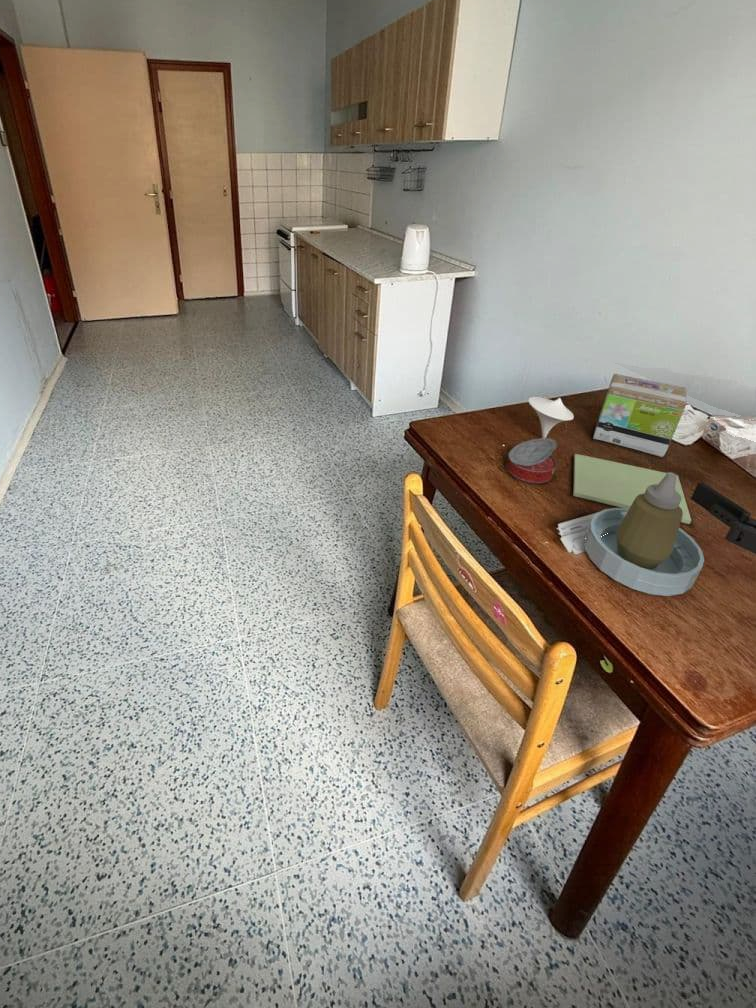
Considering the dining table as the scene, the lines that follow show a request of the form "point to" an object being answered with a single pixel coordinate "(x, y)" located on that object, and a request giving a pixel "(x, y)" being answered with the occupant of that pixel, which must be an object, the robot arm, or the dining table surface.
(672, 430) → the tea box
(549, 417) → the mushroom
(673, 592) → the bowl
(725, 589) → the dining table surface
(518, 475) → the canned food
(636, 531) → the squeeze bottle
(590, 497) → the mat
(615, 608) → the dining table surface
